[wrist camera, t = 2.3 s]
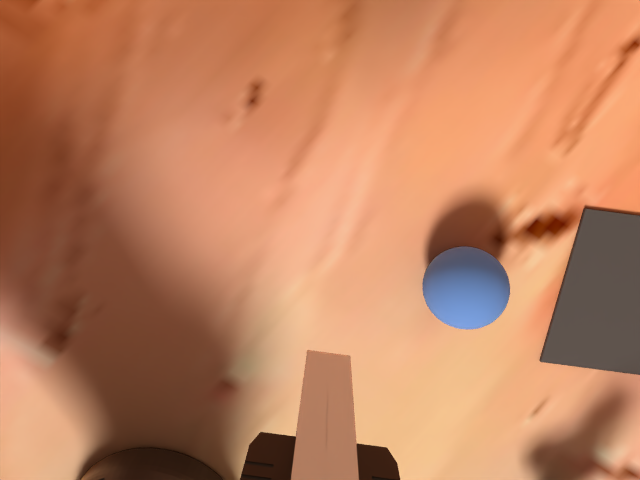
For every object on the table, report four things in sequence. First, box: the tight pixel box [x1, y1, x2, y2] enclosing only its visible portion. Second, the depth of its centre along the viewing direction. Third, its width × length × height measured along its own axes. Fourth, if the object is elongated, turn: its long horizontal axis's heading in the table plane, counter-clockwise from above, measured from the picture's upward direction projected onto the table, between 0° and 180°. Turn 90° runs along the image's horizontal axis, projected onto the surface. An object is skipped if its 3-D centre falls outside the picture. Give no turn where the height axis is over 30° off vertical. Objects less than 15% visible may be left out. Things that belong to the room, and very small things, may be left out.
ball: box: [423, 246, 510, 329], centre depth 28 cm, size 6×6×6 cm
